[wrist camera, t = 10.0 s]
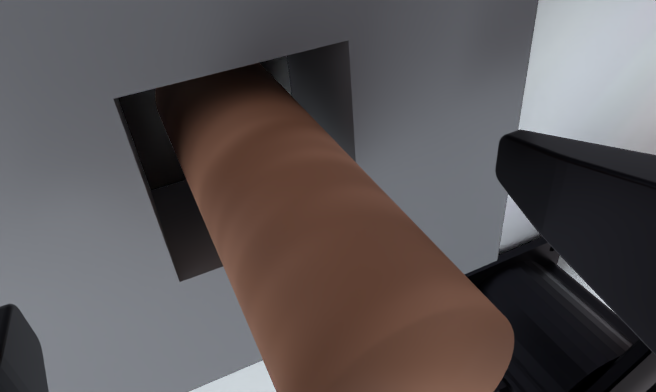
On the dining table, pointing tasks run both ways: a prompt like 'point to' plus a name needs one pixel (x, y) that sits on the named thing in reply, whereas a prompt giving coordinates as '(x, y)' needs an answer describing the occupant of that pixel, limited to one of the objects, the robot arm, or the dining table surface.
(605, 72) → the dining table surface
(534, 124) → the dining table surface
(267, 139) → the terracotta peg
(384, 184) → the hole block
